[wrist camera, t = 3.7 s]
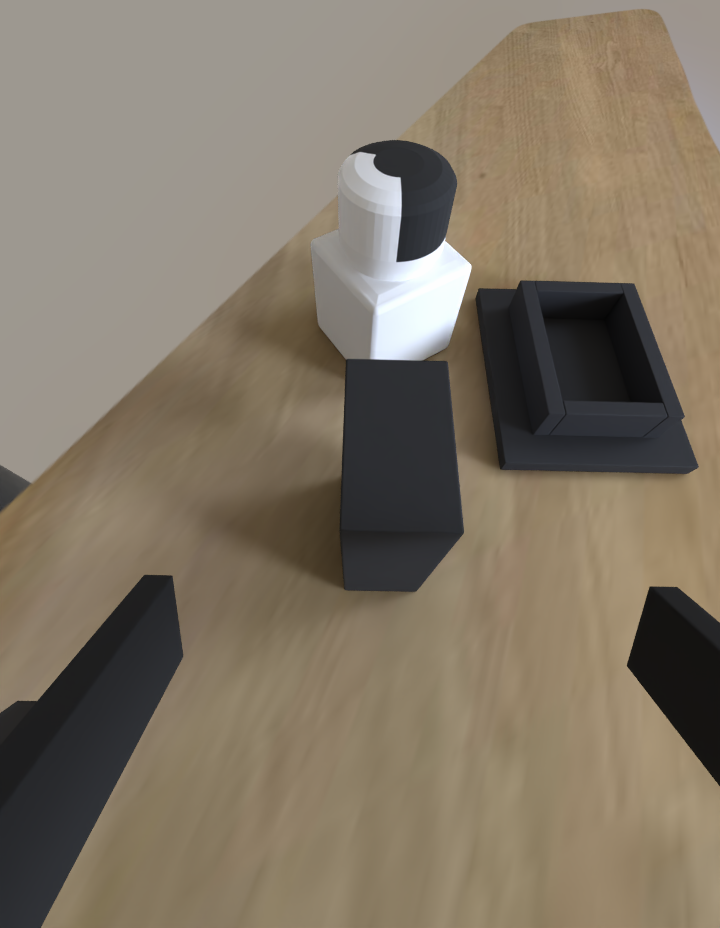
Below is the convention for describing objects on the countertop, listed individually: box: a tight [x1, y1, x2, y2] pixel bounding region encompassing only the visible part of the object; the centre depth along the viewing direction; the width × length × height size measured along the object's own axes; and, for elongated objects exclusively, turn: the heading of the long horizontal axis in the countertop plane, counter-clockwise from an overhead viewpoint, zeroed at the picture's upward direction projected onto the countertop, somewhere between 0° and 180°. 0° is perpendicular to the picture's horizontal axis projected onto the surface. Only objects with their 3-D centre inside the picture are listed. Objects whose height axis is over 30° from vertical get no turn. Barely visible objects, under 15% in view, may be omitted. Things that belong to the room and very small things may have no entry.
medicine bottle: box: [311, 140, 471, 361], centre depth 26 cm, size 7×7×12 cm
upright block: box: [340, 359, 464, 592], centre depth 20 cm, size 4×7×11 cm, turn 179°
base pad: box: [476, 281, 699, 474], centre depth 29 cm, size 12×15×4 cm
